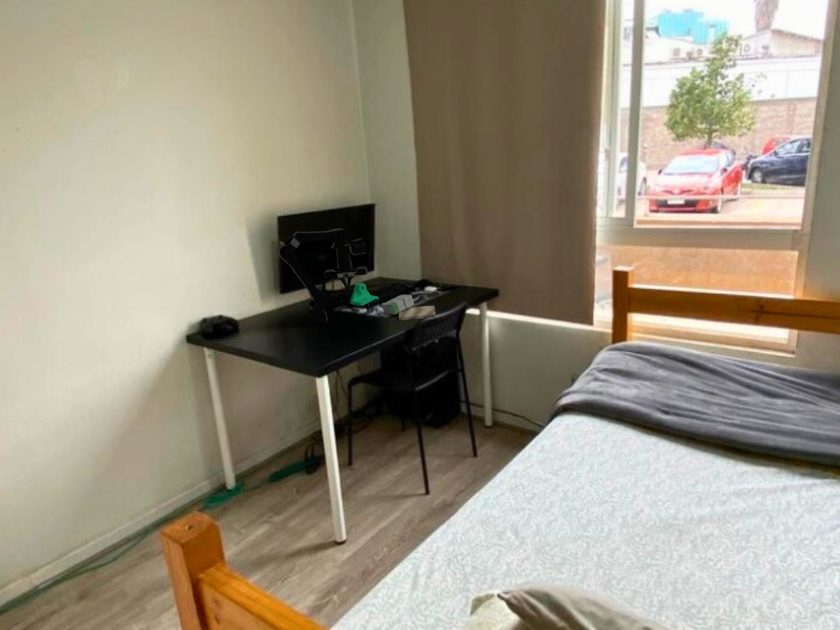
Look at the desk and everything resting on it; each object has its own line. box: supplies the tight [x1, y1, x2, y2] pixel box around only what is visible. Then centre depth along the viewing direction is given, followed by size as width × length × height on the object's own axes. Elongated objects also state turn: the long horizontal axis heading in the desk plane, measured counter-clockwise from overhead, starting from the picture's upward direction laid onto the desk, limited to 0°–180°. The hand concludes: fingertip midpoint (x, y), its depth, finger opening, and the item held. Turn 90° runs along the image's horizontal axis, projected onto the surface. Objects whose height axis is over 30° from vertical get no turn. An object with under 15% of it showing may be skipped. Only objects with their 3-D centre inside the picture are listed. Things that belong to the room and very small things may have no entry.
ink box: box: [381, 294, 415, 315], centre depth 255 cm, size 9×5×12 cm
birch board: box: [398, 305, 436, 321], centre depth 250 cm, size 16×14×1 cm
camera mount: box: [349, 282, 379, 307], centre depth 274 cm, size 12×8×10 cm, turn 136°
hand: (348, 291), depth 253 cm, fingers closed
